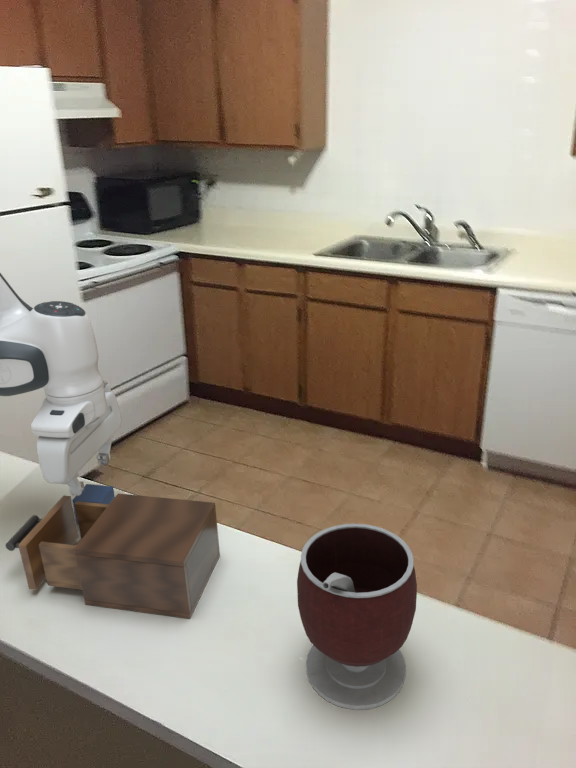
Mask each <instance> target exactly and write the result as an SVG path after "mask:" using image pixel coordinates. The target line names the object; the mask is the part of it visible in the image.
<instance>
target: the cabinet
mask: <svg viewBox="0 0 576 768" xmlns="http://www.w3.org/2000/svg"><path fill="white" fill-rule="evenodd" d="M217 519H218V518H217V509H216V502H210V501H201V500H191V499H181V498H169V497H161V496H149V495H140V494H139V495H138V494H128V493H116V495H115V498H114V499H113V500H112V501H111V503H110V504H109V505H108V506H107V508H106V509H105V510H104V512H103V513H102V514H101V515H100V517H99V518H98V519H97V520H96V522H95V523H94V524H93V525H92V527H91V528H90V529H89V531H88V532H87V533H86V534H85V536H84V537H83V538H82V539H81V538H80V539H81V541H80V542H79V541H78V542H79V543H78V542H77V543H78V544H77V543H76V544H77V546H76V547H75V548H74V552H75V557H76V562H77V567H78V572H79V577H80V581H81V586H82V590H81V591H82V596H83V599H84V600H83V601H84V605H86V606H93V607H100V608H108V609H115V610H122V611H130V612H136V613H137V612H138V613H145V614H152V615H159V616H166V617H175V618H182V619H189V620H190V619H191V618H192V616H193V613H194V611H195V609H196V607H197V605H198V603H199V600H200V599H201V596H202V595H203V592H204V591H205V588H206V586H207V584H208V581H210V577H211V576H212V574H213V571H214V569H215V567H216V564H217V563H218V560H219V558H220V557H221V552H220V550H221V549H220V540H219V530H218V520H217Z"/></svg>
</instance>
